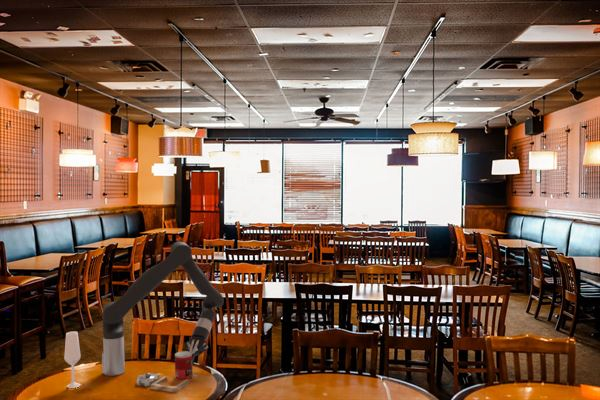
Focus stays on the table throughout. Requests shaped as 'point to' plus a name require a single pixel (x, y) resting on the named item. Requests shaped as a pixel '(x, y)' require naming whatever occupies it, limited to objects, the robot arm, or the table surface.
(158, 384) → the cradle
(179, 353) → the canned food
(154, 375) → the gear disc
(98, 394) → the table surface
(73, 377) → the champagne flute
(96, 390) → the table surface
